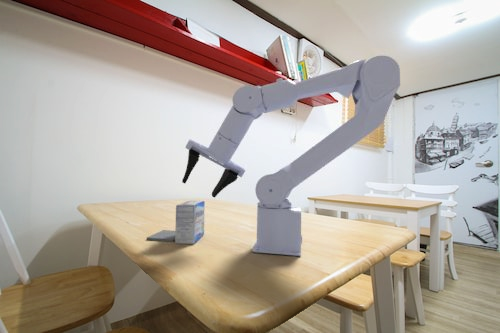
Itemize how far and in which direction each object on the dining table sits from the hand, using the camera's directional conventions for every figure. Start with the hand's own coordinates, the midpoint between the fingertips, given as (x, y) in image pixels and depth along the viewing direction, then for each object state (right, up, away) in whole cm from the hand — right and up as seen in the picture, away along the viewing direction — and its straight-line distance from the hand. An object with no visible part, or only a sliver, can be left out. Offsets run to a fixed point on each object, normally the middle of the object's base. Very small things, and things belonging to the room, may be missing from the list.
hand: (198, 188), depth 53 cm
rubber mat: (-8, -12, +2) cm, 14 cm away
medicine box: (-2, -12, 0) cm, 12 cm away
